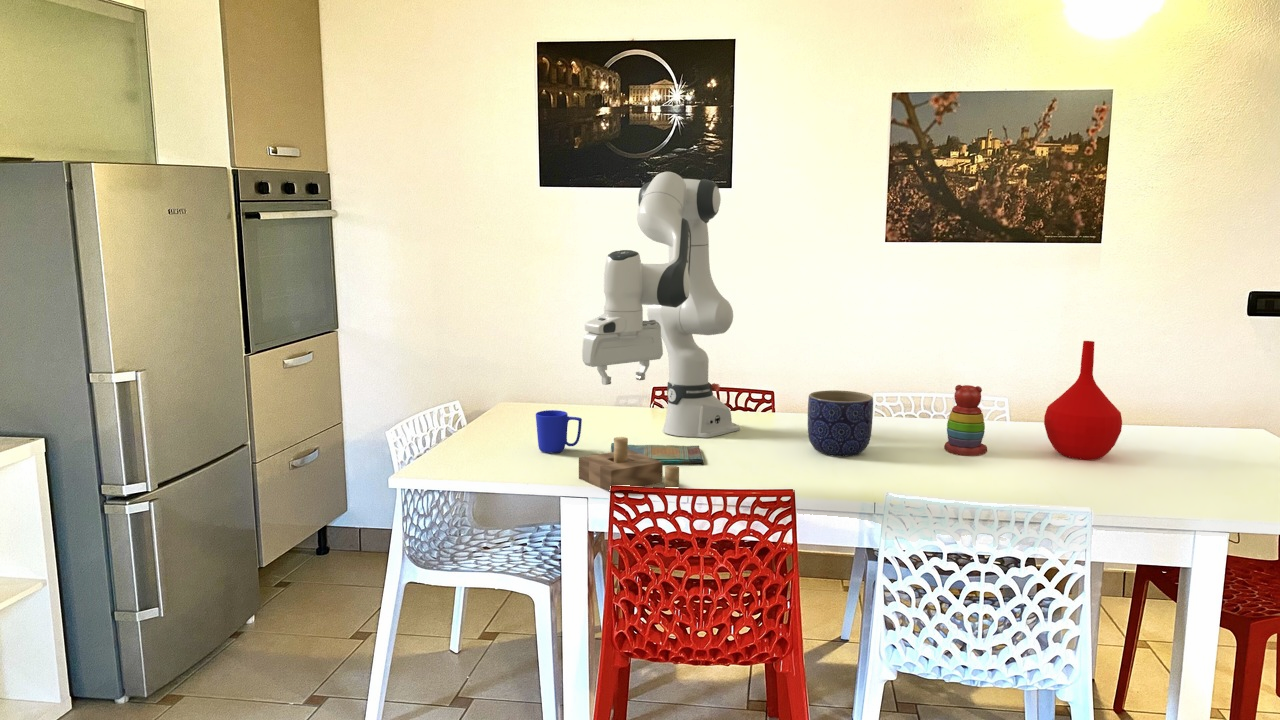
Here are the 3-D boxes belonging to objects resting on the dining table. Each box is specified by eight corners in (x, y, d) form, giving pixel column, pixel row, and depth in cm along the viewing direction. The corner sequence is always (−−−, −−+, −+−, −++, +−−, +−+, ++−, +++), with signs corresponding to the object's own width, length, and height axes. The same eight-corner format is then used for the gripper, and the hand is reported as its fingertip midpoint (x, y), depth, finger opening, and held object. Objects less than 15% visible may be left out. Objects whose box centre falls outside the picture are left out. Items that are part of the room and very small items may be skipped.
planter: (882, 451, 255) (885, 395, 252) (849, 463, 243) (852, 404, 240) (828, 441, 266) (830, 387, 263) (794, 451, 254) (795, 395, 252)
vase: (1043, 460, 247) (1051, 344, 242) (1040, 444, 264) (1048, 335, 259) (1123, 467, 240) (1133, 348, 236) (1115, 450, 257) (1124, 339, 253)
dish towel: (610, 450, 256) (610, 441, 256) (698, 450, 257) (699, 441, 256) (609, 467, 239) (609, 457, 239) (704, 467, 240) (704, 457, 239)
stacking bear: (988, 449, 258) (992, 383, 255) (984, 458, 248) (988, 389, 246) (945, 445, 262) (949, 380, 259) (940, 453, 253) (944, 386, 250)
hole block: (628, 469, 235) (628, 449, 234) (662, 483, 224) (662, 461, 223) (578, 478, 227) (578, 457, 226) (611, 492, 216) (611, 470, 215)
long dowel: (622, 478, 228) (622, 436, 226) (630, 481, 225) (630, 439, 223) (611, 480, 226) (611, 438, 224) (618, 483, 223) (618, 440, 222)
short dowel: (673, 486, 221) (673, 464, 220) (681, 489, 219) (682, 468, 218) (661, 488, 219) (662, 466, 219) (670, 491, 217) (670, 470, 216)
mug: (577, 456, 247) (577, 418, 246) (531, 453, 250) (531, 415, 248) (585, 448, 255) (585, 411, 254) (541, 446, 258) (541, 409, 256)
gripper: (652, 317, 230) (652, 375, 232) (578, 324, 219) (579, 384, 221) (668, 320, 225) (668, 379, 227) (593, 327, 213) (593, 389, 216)
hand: (623, 382), depth 224 cm, fingers open, 8 cm apart
